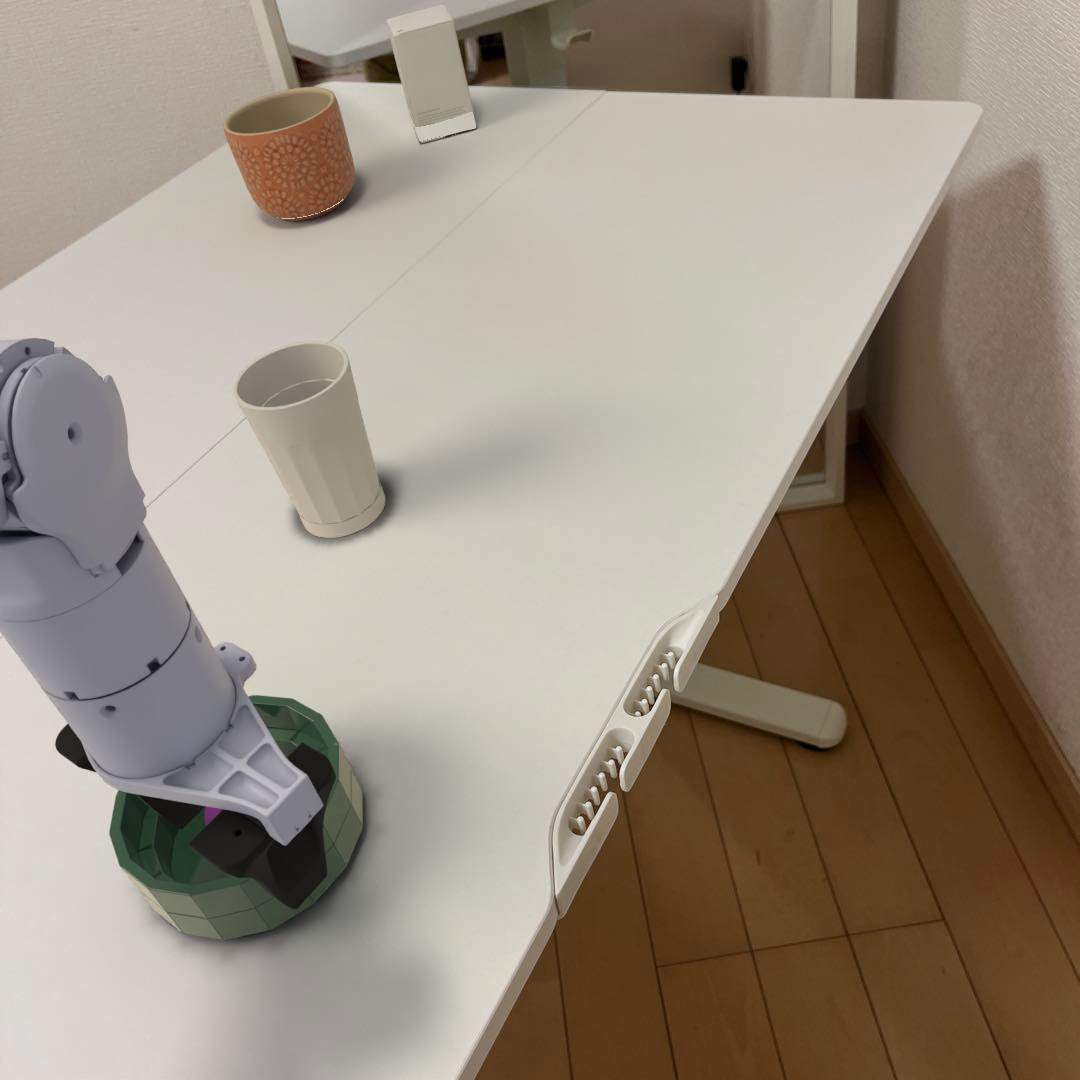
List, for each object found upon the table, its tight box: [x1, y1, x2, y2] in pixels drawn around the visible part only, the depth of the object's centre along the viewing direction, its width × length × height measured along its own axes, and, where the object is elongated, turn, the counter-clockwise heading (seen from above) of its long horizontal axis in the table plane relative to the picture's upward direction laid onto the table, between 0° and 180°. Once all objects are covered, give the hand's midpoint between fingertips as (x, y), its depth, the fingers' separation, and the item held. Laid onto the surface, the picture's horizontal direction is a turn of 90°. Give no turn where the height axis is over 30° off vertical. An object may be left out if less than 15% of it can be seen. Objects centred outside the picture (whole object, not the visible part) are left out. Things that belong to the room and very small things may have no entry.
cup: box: [232, 340, 386, 539], centre depth 78 cm, size 8×8×12 cm
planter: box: [222, 86, 356, 222], centre depth 120 cm, size 12×12×11 cm
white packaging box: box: [385, 3, 474, 144], centre depth 130 cm, size 7×7×13 cm
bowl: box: [108, 694, 364, 941], centre depth 59 cm, size 12×12×5 cm
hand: (248, 847), depth 48 cm, fingers open, 7 cm apart
